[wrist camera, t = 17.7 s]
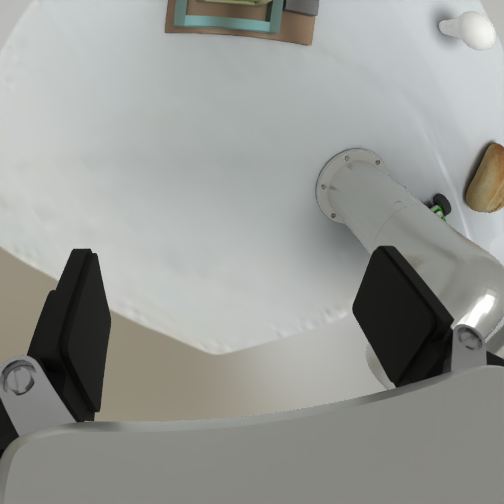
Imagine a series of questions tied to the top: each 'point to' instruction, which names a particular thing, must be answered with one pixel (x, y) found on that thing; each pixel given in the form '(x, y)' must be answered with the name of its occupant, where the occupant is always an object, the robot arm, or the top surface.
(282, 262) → the top surface
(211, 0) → the beige long rectangular block
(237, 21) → the board
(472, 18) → the lightbulb
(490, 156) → the bread roll
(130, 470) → the robot arm
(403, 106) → the top surface
